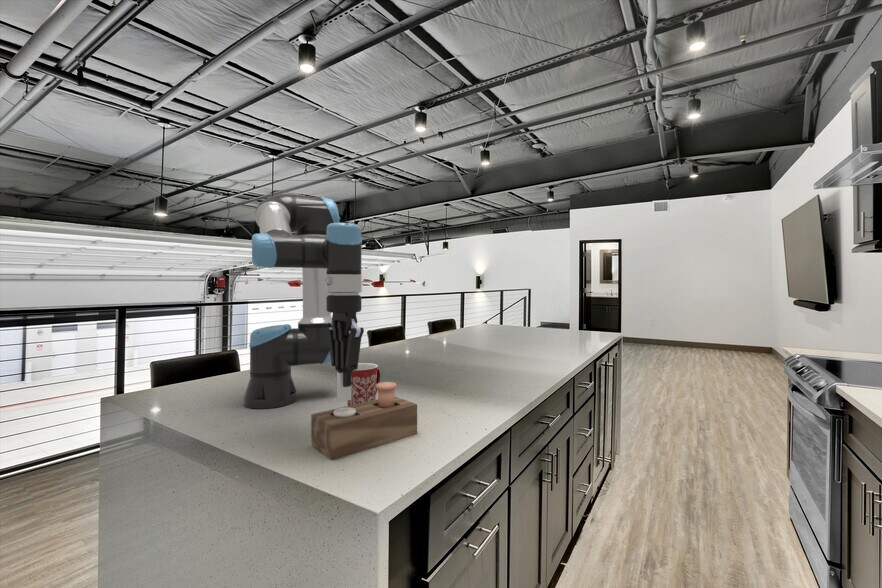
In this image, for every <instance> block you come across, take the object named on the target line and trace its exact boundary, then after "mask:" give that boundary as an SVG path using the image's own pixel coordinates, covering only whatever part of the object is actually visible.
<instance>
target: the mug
mask: <svg viewBox="0 0 882 588" xmlns="http://www.w3.org/2000/svg"><path fill="white" fill-rule="evenodd" d="M378 383H381V371H380V368H379V365H378V364H376V363H371V362H370V363H369V362H367V363H366V362H358V368H357V369H356V370H353V371H352V372H351V400H348V401H346V402H347V406H350V405H355V404H359V403H364V402H368V401H373V400H377V398H376V396H377V394H378V389H376V384H378Z"/></svg>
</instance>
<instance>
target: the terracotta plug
mask: <svg viewBox="0 0 882 588" xmlns="http://www.w3.org/2000/svg"><path fill="white" fill-rule="evenodd" d="M376 389H378V390H377V399H378V407H380V408H383V409H385V408H389V407H393V406H395V397H396V393H395V392H396V391H395V390H396V389H397V383H396V382H392V381H385V382H384V381H383V382H380V383H378V384H376Z"/></svg>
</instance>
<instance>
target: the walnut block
mask: <svg viewBox="0 0 882 588" xmlns="http://www.w3.org/2000/svg"><path fill="white" fill-rule="evenodd" d="M345 407H349V408H354V409H356V414H355V415H354V416H352V417H348V418H344V419H338V418H336V417H334V410H336V409H339V408H345ZM310 416H311V417H310V419H311V421H310V422H311V423H310V424H311V427H310V429H311V432H310V433H311V435H310V437H311V438H310V439H311V441H310V442H311V447H312V448H314V449H316V450H317V451H318V452H320V453H322V454H323V455H324V456H325V457H326V458H328V459H330V460H331V461H333V460H338V459H340V458H343V457H346V456H350V455H353V454H356V453H359V452H363V451H366V450H369V449H372V448H376V447H378V446H380V445H385V444H389V443H391V442H394V441H398V440H401V439H403V438H406V437H410V436H413V435H416V434H418V404H417V403H415V402H411V401H409V400H406V399H403V398H401V397H398V396H395V406H393V407H389V408H385V409H383V408H380V407H378V398H376V399H375V400H373V401H368V402H364V403H359V404H355V405H350V406H348V405H347V406H346V405H345V406H343V407H341V406H340V407H337V408H333V409H329V410H324V411H319V412H314V413H312V414H310Z"/></svg>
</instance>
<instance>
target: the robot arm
mask: <svg viewBox="0 0 882 588" xmlns="http://www.w3.org/2000/svg"><path fill="white" fill-rule="evenodd" d="M254 219H255V222H256V225H257V226H258V227H259V233H254V234H253V235H252V236H251V263H252V265H253V266H255V267H257V268H258V267H261V268H268V269H272V268H273V269H275V268H276V269H277V268H283V269H284V268H285V269H286V268H289V269H302V318H301V319H300V320H299V321H298V322H297V328H292V325H290V324H289V323H288V324H287V323H286V324H276V325H275V324H274V325H270V326H265V327H260V328H257V329H255V330H253V331H252V332H251V333H250V336H249V345H248V347H249V381H248V384H247V387H246V390H245V392H244V395H243V407H246V408H249V409H256V410H257V409H272V408H273V409H274V408H278V407H284V406H287V405H291V404H293V403H295V402H296V401H298V390H297V388H296V385H295V382H294V380H293V377H292V367H295V366H297V367H298V366H310V365H319V364H320V365H324V364H329V363H331V366H332V367H334V369H335V371H336V401H337V402H339V403H342V402H347V401H348V400H351V372H352V371H353V370H356V369H357V368H358V363H359V359H360V351H361V342H362V337H363V335H364V332H365V329H364V327H360V326H358V318H357V313H360V312H361V311H362V296H361V295H360V293H362V292H363V289H362V288H363V287H362V286H363V285H362V283H363V282H362V280H363V279H362V243H363V239H362V229H361V226H360V225H358V224H356V223H350V222H340V213H339V209H338V205H337V203H336V202H335V201H334V199H332V198H327V197H322V196H312V195H311V196H310V195H300V194H299V195H298V194H291V193H290V194H288V193H281V194H275V195H272V196H269V197H266V198H265V199H263V200H262V201H261V202H260V203H259V204H258V205H257V206H256V208H255V211H254ZM292 232H293V233H296V235H293V233H292ZM331 315H332V316H331Z"/></svg>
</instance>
